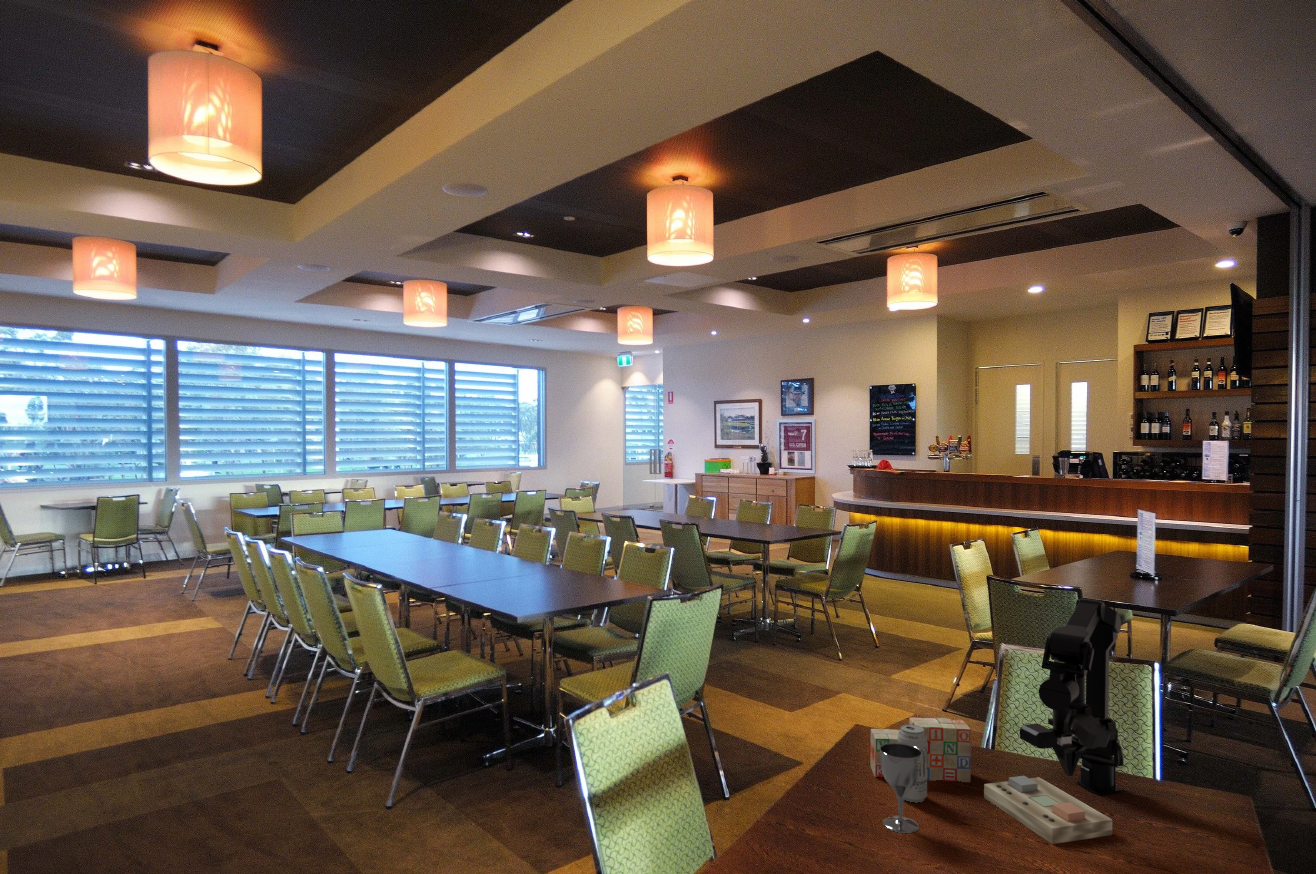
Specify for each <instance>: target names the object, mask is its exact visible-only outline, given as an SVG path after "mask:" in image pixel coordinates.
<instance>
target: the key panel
mask: <svg viewBox="0 0 1316 874" xmlns="http://www.w3.org/2000/svg"><path fill="white" fill-rule="evenodd" d="M1028 778H1029V777H1028ZM1029 779H1031V780H1033V781H1034V782H1036V783H1038V791H1036V792H1028V793H1020V792H1018V791H1017V790H1015V789H1014V788H1012V787H1010V786H1009V780H1006V781H999V782H990V783H984V785H983V788H984V789H983V796H984V797H983V798H984V799H985V800H986V801H988V802H989V801H990V802H989V803H991V804H992V805H994V806H995V805H996V806H995V807H997V808H998V807H999V810H1001V811H1003V812H1005V814H1007V815H1009V816H1010V817H1012V818H1013V819H1014V820H1017V821H1018V822H1019V823H1021V824H1022V825H1024V827H1026V828H1028V829H1029V830H1030V831H1033V832H1034V833H1035V834H1037V835H1038V836H1039V837H1041V838H1043V839H1044V840H1046V841H1047V842H1049V843H1050V844H1051V845H1054V844H1055V845H1056V844H1062V843H1067V842H1074V841H1081V840H1088V839H1094V838H1101V837H1109V836H1113V819H1112V818H1111V817H1109V816H1107V815H1105V814H1103V813H1101V812H1100V811H1099V810H1096V809H1094V808H1093V807H1091V806H1089V805H1087V804H1086V803H1084V802H1083V801H1081V800H1079V799H1077V798H1076V797H1074V796H1072V795H1071V794H1069V793H1067V792H1065V791H1063V790H1062V789H1060V788H1059V787H1057V786H1055V785H1053V784H1051V783H1049V782H1048V781H1047V780H1044V779H1043V778H1041V777H1040V776H1039V777H1030V778H1029ZM1039 796H1048V797H1050V798H1051V799H1053V800H1055V801H1056V802H1058V803H1060V804H1062V803H1069V802H1070V803H1072V804H1073V805H1075V806H1077V807H1078V808H1080V809H1082V810H1084V811H1085V820H1082V821H1075V822H1066V821H1065V820H1063V819H1062V818H1060V817H1058V816H1057V815H1055V814H1054V813H1053V806H1050V807H1042V806H1041V805H1039V804H1038V803H1036V802H1034V801H1033V800H1031V799H1030V798H1031V797H1039Z"/></svg>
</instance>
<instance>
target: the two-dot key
mask: <svg viewBox="0 0 1316 874" xmlns="http://www.w3.org/2000/svg"><path fill="white" fill-rule="evenodd" d="M1053 813H1054V814H1055V815H1057V816H1058V817H1060V818H1062V819H1063V820H1065V821H1066V822H1075V821H1082V820H1085V811H1084V810H1082V809H1080V808H1078V807H1077V806H1075V805H1073V804H1072V803H1070V802H1069V803H1062V804H1054V805H1053Z"/></svg>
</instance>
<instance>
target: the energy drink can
mask: <svg viewBox="0 0 1316 874" xmlns="http://www.w3.org/2000/svg"><path fill="white" fill-rule="evenodd" d="M899 730H900V731H899V733H898V743H905V744H909V745H912V746H915V747H917V748H918V749H919V750H920V751H921V769H920V774H919V778H918V781H917V782H916V783H915V785H914V786H913V787H912V788H910V789H909V790H908V791H907V793H906V794H905V797H904V801H905V800H906V801H905V802H907V801H910V802H909V803H911V802H915V803H914V804H918V802H920V803H923V802H924V801H925V799H926V798H927V797H928V780H927V737H926V735H925V733H924V729H923V728H922V727H920V726H917V725H911V724H902V725H901V726H900V729H899Z"/></svg>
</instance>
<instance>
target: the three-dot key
mask: <svg viewBox="0 0 1316 874" xmlns="http://www.w3.org/2000/svg"><path fill="white" fill-rule="evenodd" d="M1008 781H1009V786H1010V787H1012V788H1014V789H1015V790H1017V791H1018V792H1020V793H1028V792H1036V791H1038V783H1036V782H1034V781H1033V780H1031V779H1029V777H1028V776H1026V775H1019V776H1018V775H1017V776H1010V777H1008Z"/></svg>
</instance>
